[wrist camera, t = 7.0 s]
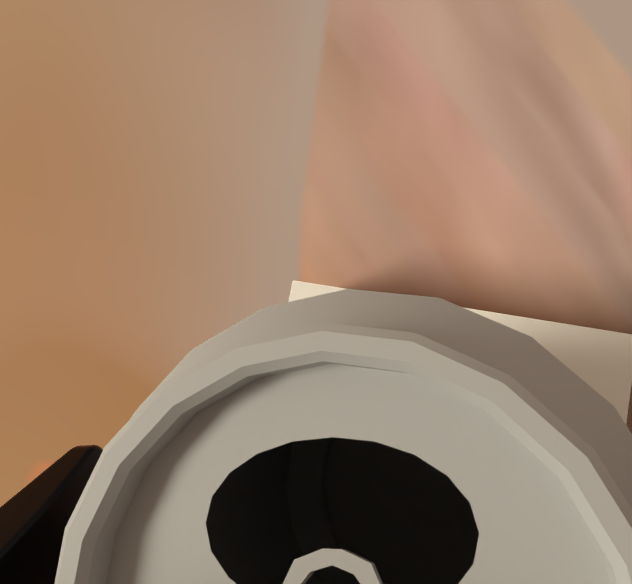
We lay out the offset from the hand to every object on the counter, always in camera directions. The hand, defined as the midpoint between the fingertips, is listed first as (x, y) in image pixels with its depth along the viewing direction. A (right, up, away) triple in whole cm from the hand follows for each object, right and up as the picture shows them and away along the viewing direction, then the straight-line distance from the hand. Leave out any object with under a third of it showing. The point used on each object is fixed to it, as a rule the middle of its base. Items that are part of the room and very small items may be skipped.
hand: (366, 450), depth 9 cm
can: (+2, -3, +8) cm, 9 cm away
